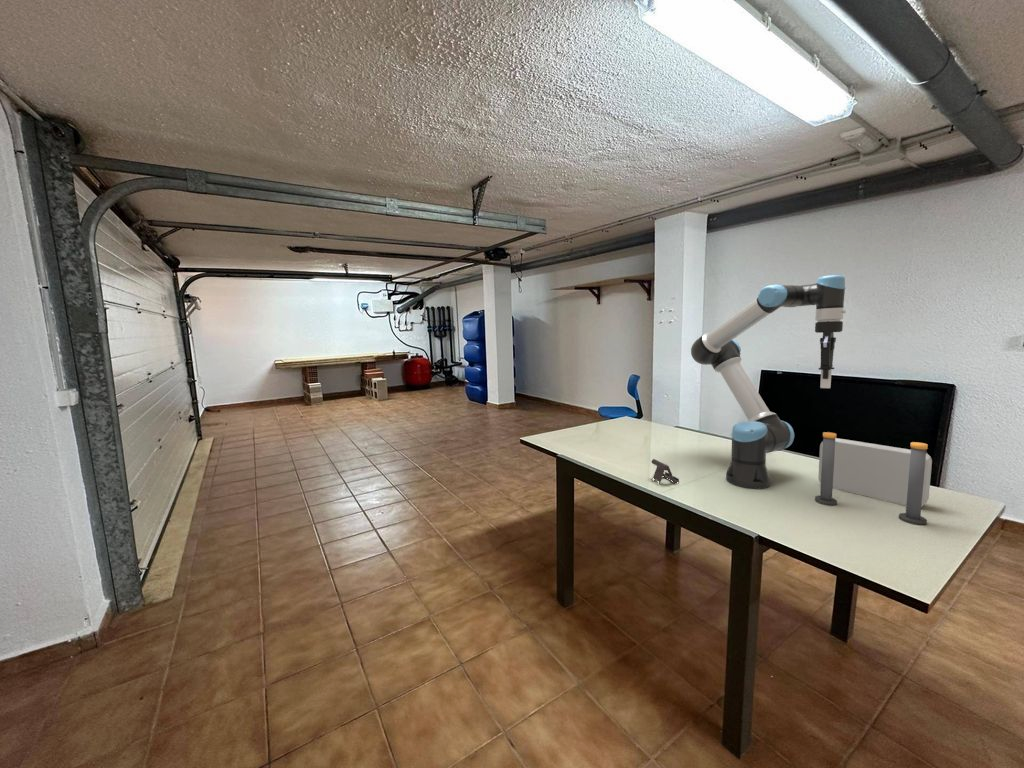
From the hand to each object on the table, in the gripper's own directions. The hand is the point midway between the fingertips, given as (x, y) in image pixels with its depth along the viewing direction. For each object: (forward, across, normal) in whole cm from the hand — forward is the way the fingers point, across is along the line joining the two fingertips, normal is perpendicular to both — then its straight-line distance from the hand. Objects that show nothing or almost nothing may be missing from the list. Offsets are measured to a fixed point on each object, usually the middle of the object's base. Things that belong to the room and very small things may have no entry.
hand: (825, 387), depth 140 cm
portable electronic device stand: (+39, -26, +47) cm, 66 cm away
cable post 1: (+38, -10, -3) cm, 40 cm away
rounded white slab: (+39, +7, -13) cm, 41 cm away
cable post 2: (+38, -10, -24) cm, 46 cm away
